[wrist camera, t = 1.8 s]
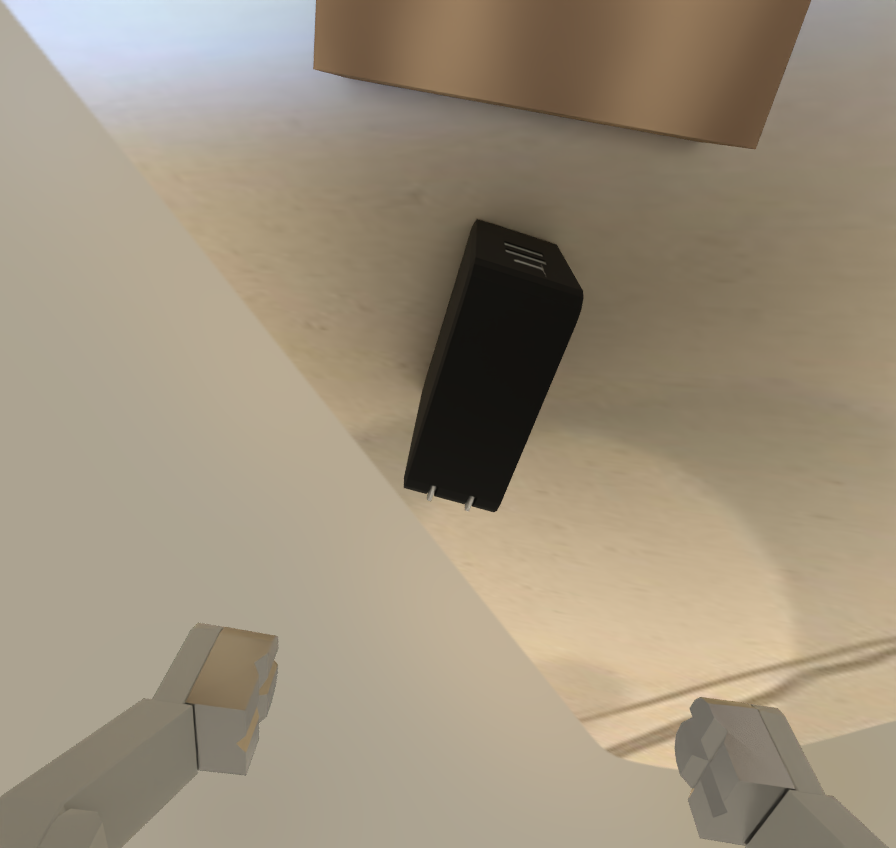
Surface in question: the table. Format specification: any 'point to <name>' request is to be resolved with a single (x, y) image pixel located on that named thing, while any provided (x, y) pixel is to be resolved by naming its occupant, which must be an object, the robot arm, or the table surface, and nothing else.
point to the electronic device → (491, 366)
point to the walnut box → (577, 57)
